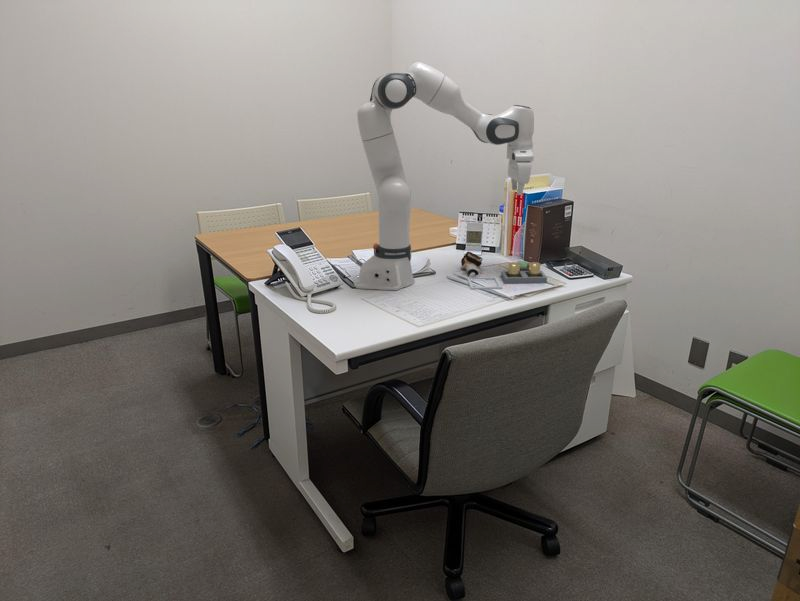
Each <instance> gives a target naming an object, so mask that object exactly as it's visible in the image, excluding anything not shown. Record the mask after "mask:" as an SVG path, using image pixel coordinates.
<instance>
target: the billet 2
mask: <svg viewBox="0 0 800 601" xmlns="http://www.w3.org/2000/svg"><path fill="white" fill-rule="evenodd" d="M528 263H529V273H528V277H540V271H541V266H542V265H541V262H538V261H536V262H535V261H532V262H528Z"/></svg>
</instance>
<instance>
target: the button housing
mask: <svg viewBox="0 0 800 601" xmlns="http://www.w3.org/2000/svg"><path fill="white" fill-rule="evenodd" d="M529 263H530V262H528V263H527V268H520V269H519V271H529Z"/></svg>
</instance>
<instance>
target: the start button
mask: <svg viewBox="0 0 800 601" xmlns="http://www.w3.org/2000/svg"><path fill="white" fill-rule="evenodd" d="M516 263H519V264H520V268H527V263H529V262H528V261H526V260H517V261H516Z"/></svg>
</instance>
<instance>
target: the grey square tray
mask: <svg viewBox="0 0 800 601" xmlns="http://www.w3.org/2000/svg"><path fill="white" fill-rule="evenodd" d="M471 279H485V280H484V281H486V280H487V281H493V280H494V282H495V284H496V285H497V286H474V284H473V282H472V280H471ZM466 280H467V283H468V285H469V289H470V290H503V286H502V283H501V282H500V280H499V278H498V277H497V276H489V277H488V276H485V277H484V276H483V277H481V276H480V277H471V278H469V277H466Z"/></svg>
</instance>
